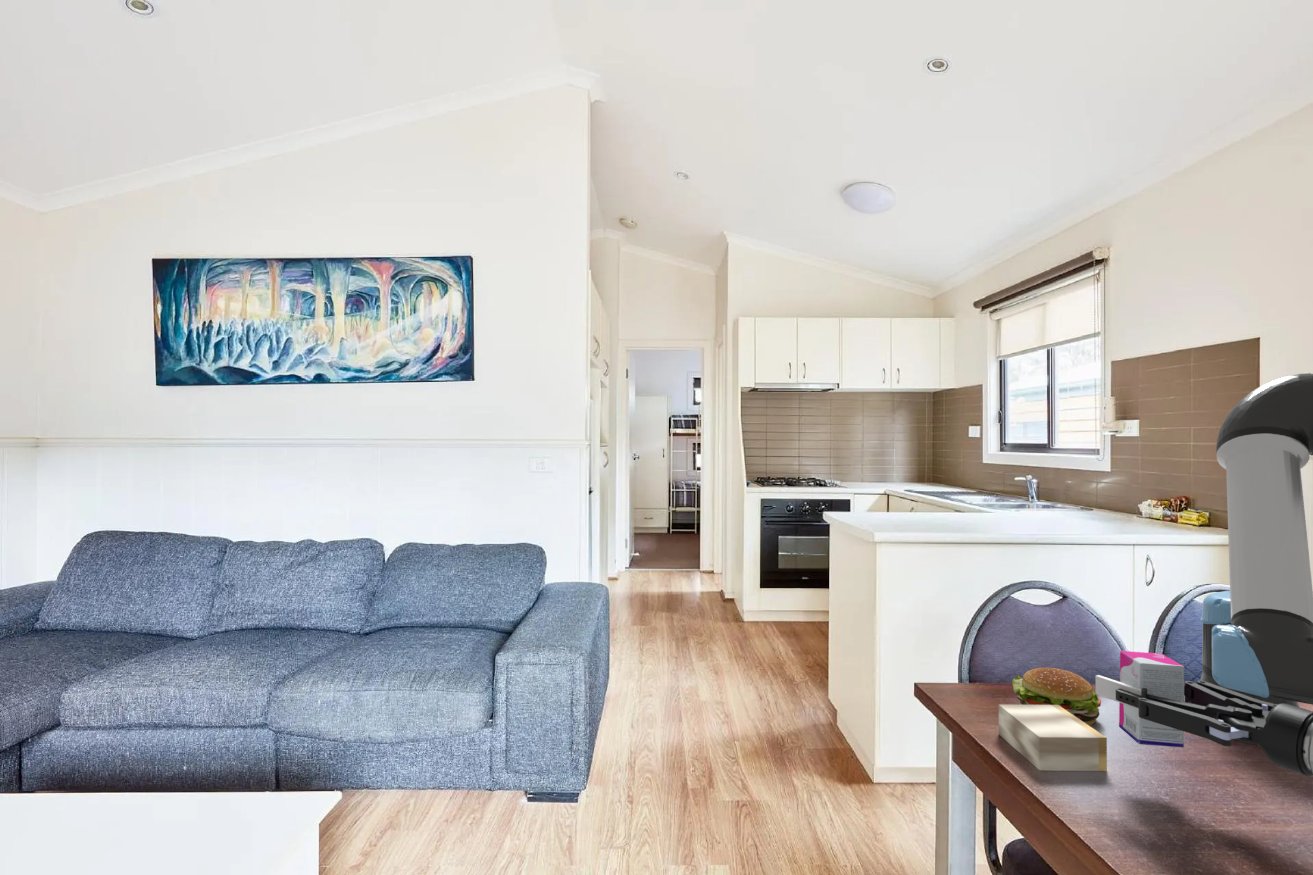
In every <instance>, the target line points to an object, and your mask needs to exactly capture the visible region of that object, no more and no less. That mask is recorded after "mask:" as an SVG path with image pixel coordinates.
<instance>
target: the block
mask: <svg viewBox="0 0 1313 875" xmlns="http://www.w3.org/2000/svg"><path fill="white" fill-rule="evenodd" d="M998 735H999V736H1000V737H1001V738H1002V739H1003V740H1005V741H1006V743H1008V744H1009V745H1010V746H1011V747H1012V748H1013V749H1015V750H1016V751H1017V752H1018V753H1019V754H1020V755H1021V756H1022V757H1024V758H1025V759H1026V760H1027V761H1028V762H1029V763H1030V764H1031V765H1033V766H1034V768H1036V769H1037V770H1038V771H1054V772H1055V771H1057V772H1058V771H1060V772H1062V771H1065V772H1067V771H1068V772H1069V771H1070V772H1071V771H1074V772H1107V771H1108V764H1107V763H1108V756H1107V755H1108V746H1107V745H1108V739H1107V737H1106V736H1105V735H1104V734H1102V733H1100V732H1099V731H1098V730H1096V729H1095V728H1093V727H1092V726H1089V725H1087V724H1086V723H1084V722H1083V721H1081V720H1080V719H1078V718H1077V717H1075V716H1074V715H1072V714H1071V713H1070V712H1068V711H1067V710H1065V709H1064V708H1062V707H1061V706H1059V705H1020V704H998Z"/></svg>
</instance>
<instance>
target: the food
mask: <svg viewBox="0 0 1313 875" xmlns="http://www.w3.org/2000/svg"><path fill="white" fill-rule="evenodd" d="M1011 682H1012V683H1011V684H1012V686H1013V692H1014V694H1016V697H1017V699H1018V700H1019V705H1059V706H1061V707H1062V708H1064V709H1065V710H1067V711H1068V712H1070V713H1071V714H1072V715H1074V716H1075V717H1077V718H1078V719H1080V720H1081V721H1083V722H1084V723H1086V724H1087V725H1089V726H1090V727H1092V725H1093V724H1095V723H1096V720H1097V719H1098V718H1099V716H1100V711H1099V710H1100V709H1099V708H1100V707H1101V704H1102V700H1101V699H1100V698H1099V697H1098V695H1097V694H1096V690H1094V689H1093V686H1092V685H1091V684H1090V683H1089V681H1087V680H1086V679H1085V678H1084V677H1082V676H1080V675H1079V674H1077V673H1074V672H1072V671H1069V670H1066V669H1060V668H1057V667H1037V668H1033V669H1029V670H1027V671H1026V672H1025V673H1024V674H1023V675H1022V677H1020V675H1019V674H1017V675H1016V676H1015V677H1014V678H1013V679H1012V681H1011Z"/></svg>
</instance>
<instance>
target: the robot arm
mask: <svg viewBox="0 0 1313 875" xmlns="http://www.w3.org/2000/svg"><path fill="white" fill-rule="evenodd" d="M1215 453H1216V461H1217V463H1218V465H1220V467H1221V468H1223V469H1224V470H1226V472H1225V473H1226V474H1225V475H1226V502H1227V505H1226V507H1227V527H1228V528H1227V534H1228V537H1227V538H1228V561H1229V562H1228V563H1229V564H1228V566H1229V571H1228V572H1229V590H1226V591H1225V590H1224V591H1218V592H1213V593H1210V594H1208V595H1206V596H1205V597H1204V599H1203V601H1202V610H1201V612H1202V613H1201V617H1200V619H1199V620H1200V623H1201V624H1202V637H1201V638H1202V642H1201V645H1202V647H1201V648H1202V650H1201V651H1202V652H1201V653H1202V655H1201V656H1202V657H1201V664H1202V670H1201V671H1202V672H1201V677H1200V679H1199V680H1196V682H1194V681H1192V680H1191V681H1190V680H1186V681H1185V680H1184V702H1182V701H1177V700H1172V699H1168V698H1163V697H1159V696H1154V695H1149V694H1147V689H1146V688H1142V689H1140V688H1137V687H1134V686H1131V685H1128V684H1125V683H1122V682H1120V680H1115V679H1112V678H1109V677H1106V676H1103V675H1099V674H1097V675H1095V692H1096V694H1097V695H1096V696H1100V697H1103V698H1106V699H1108V700H1110V701H1111V700H1112V701H1115V702H1117V703H1122V704H1125V705H1128V706H1131V707H1134V708H1136V709H1139V717H1140V718H1142V719H1146V720H1149V721H1152V722H1155V723H1159V724H1162V725H1165V726H1168V727H1171V728H1175V729H1178V730H1181V731H1184V733H1187V734H1192V735H1195V736H1198V737H1201V738H1203V739H1207V740H1209V741H1211V742H1213V743H1216V744H1218V745H1220V746H1223V747H1231V746H1232V740H1234V741H1235V742H1239V743H1242V744H1247V745H1248V744H1249V745H1250V744H1252V745H1257V746H1259V747H1260V748H1261V749H1262V751H1263V752H1264V754H1265V756H1266V758H1267V760H1268V761H1269V762H1270V763H1272V764H1273V765H1275V766H1278V767H1281V768H1283V769H1285V770H1289V771H1292V772H1294V773H1297V774H1300V775H1302V776H1306V777H1313V711H1312V710H1309V709H1306V708H1302V707H1300V704H1299V703H1302V704H1308V705H1313V582H1312V572H1311V562H1310V551H1309V550H1310V549H1309V542H1308V540H1309V539H1308V532H1307V531H1308V530H1307V522H1306V521H1307V520H1306V511H1305V502H1304V501H1305V500H1304V491H1303V481H1302V473H1301V471H1302V470H1301V469H1303V468H1304V467H1306V465H1307V464H1308V462H1309V460H1310V456H1313V373H1311V372H1309V373H1296V374H1290V375H1284V376H1282V377H1278V378H1276V379H1272V380H1271V381H1268V382H1266V383H1264V384H1262V385H1260V386H1258V387H1256V388H1255V389H1253V390H1252V391H1251V392H1249V393H1248V394H1247V395H1245V396H1244V397H1243V398H1242V399H1241V400H1240V401H1238V403H1236V404H1235V405H1234V407H1233V408H1232V409H1231V410H1229V413H1228V414H1227V416H1226V417H1225V418H1224V420H1223V422H1222V424H1221V426H1220V428H1219V431H1218V434H1217V438H1216V451H1215Z"/></svg>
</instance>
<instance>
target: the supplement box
mask: <svg viewBox="0 0 1313 875" xmlns="http://www.w3.org/2000/svg"><path fill="white" fill-rule="evenodd" d="M1119 682H1122V683H1125V684H1128V685H1131V686H1134V687H1137V688H1140V689H1142V688H1146V689H1147V694H1149V695H1154V696H1159V697H1163V698H1168V699H1172V700H1177V701H1182V702H1185V696H1184V683H1185V666H1184V665H1182V664H1181V663H1179V662H1177V661H1175V660H1174V659H1172V658H1170V657H1168V656H1166V655H1165V654H1163V653H1161V652H1159V653H1158V652H1144V651H1143V652H1140V651H1130V650H1120V651H1119ZM1118 703H1119V702H1118ZM1118 708H1119V709H1118V710H1119V712H1118V715H1119V716H1118V719H1119V722H1118V727H1119V728H1120V729H1121V730H1122V731H1123V732H1124V733H1125V734H1126V735H1128V736H1129V737H1130V738H1131V739H1132V740H1134V741H1135V742H1136V743H1137V744H1138V745H1143V746H1144V745H1145V746H1146V745H1147V746H1158V747H1171V748H1184V746H1185V743H1184V742H1185V739H1184V738H1185V732H1184V731H1181V730H1178V729H1175V728H1171V727H1168V726H1165V725H1162V724H1159V723H1155V722H1152V721H1149V720H1146V719H1142V718H1140V717H1139V709H1136V708H1134V707H1131V706H1128V705H1125V704H1122V703H1119V706H1118Z"/></svg>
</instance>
